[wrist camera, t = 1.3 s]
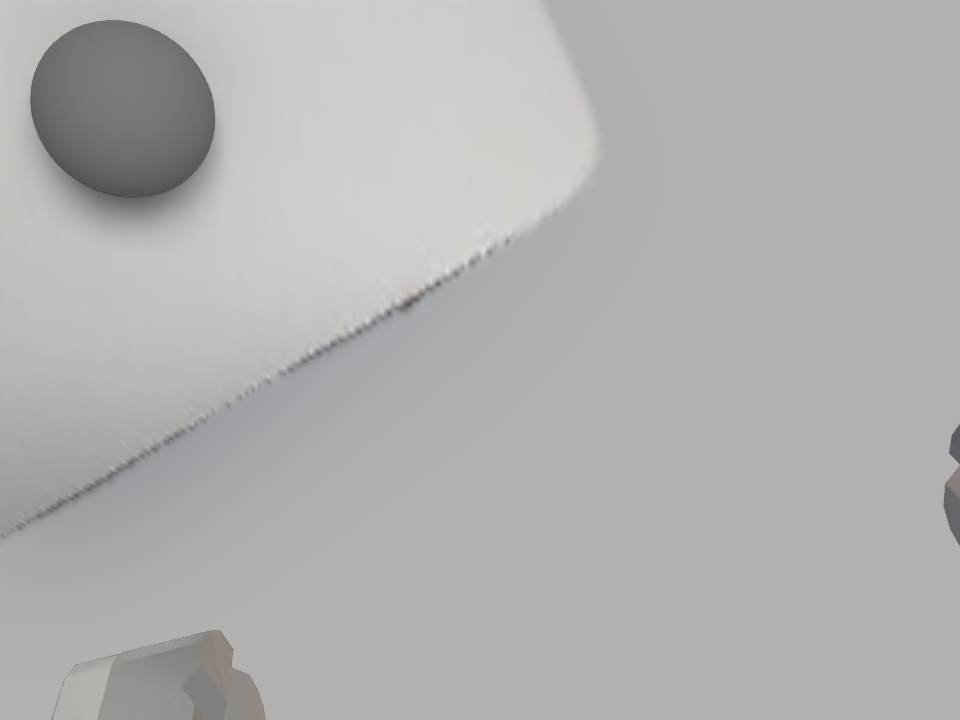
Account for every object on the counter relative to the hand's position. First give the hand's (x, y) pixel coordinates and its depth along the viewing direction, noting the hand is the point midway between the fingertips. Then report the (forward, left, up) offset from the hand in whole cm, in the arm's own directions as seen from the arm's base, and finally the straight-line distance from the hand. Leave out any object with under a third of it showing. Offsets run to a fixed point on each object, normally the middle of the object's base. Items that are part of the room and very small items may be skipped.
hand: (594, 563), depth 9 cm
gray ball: (-6, -6, -20) cm, 22 cm away
